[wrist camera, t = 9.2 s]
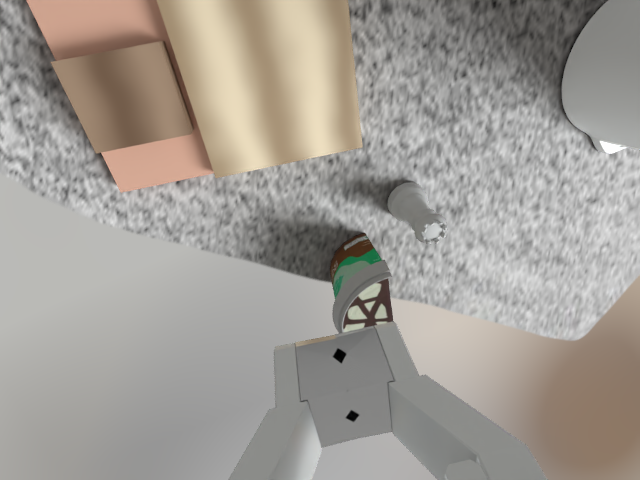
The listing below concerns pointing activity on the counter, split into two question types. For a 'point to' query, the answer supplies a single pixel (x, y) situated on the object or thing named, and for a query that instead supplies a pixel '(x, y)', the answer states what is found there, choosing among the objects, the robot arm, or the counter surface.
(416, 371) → the robot arm
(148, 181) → the salmon pink pad
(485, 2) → the counter surface
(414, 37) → the counter surface
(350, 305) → the food container
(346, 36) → the oak board
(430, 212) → the rook chess piece
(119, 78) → the walnut tile
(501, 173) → the counter surface
